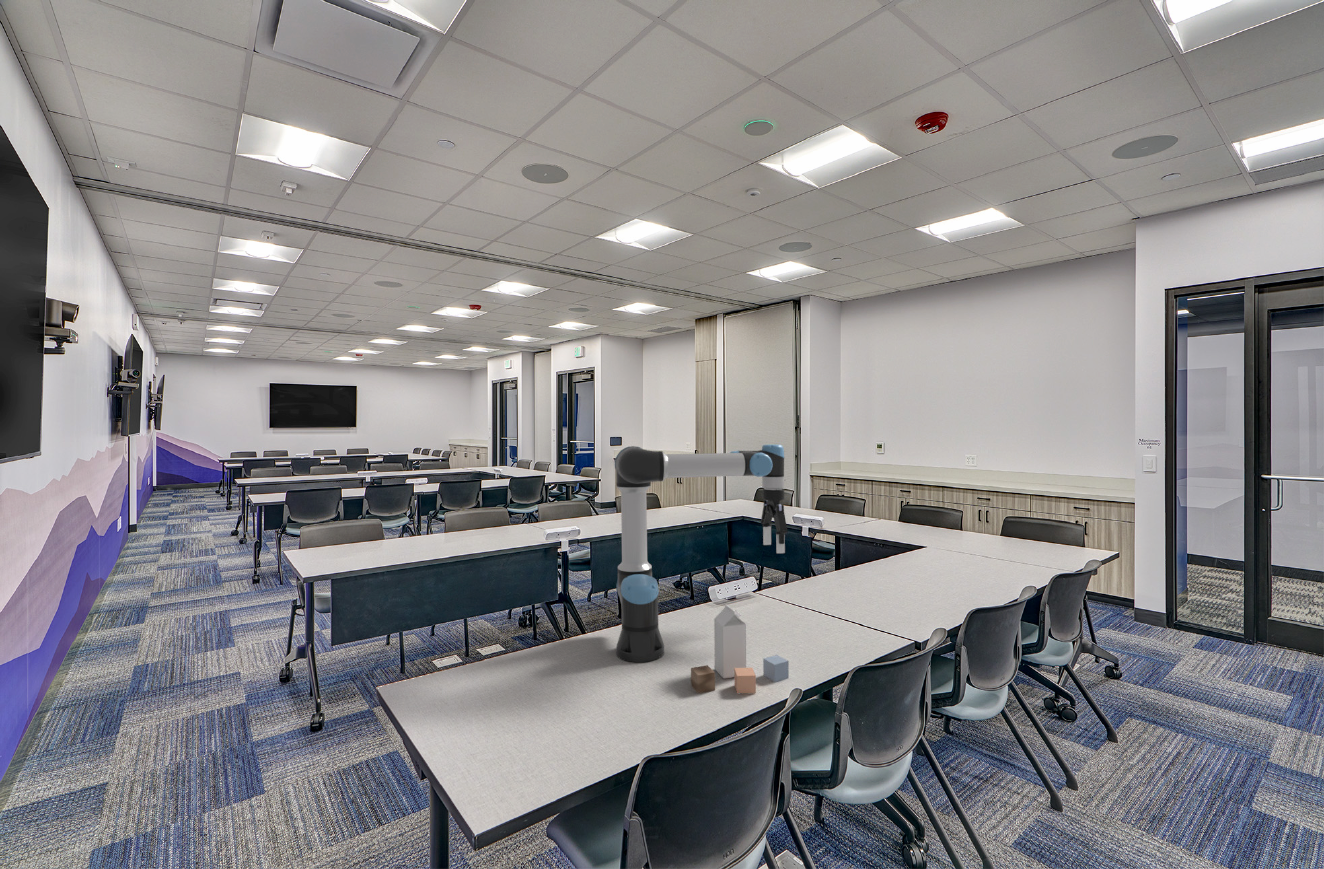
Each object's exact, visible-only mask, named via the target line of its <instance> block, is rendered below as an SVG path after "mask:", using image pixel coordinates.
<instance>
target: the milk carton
mask: <svg viewBox="0 0 1324 869" xmlns="http://www.w3.org/2000/svg"><path fill="white" fill-rule="evenodd" d="M741 616H742V614H741V613H740V612H739V611H737V610H734V609H733V608H732V607H730V606H729V605H728V604H726V603H725V604H724V608H723V609H722V610H721V611H720V612H719V613H718V614H717V615H716V616H715V617H714V618H713V620H714V622H713V623H714V628H713V630H714V637H713V638H714V670H715V671H716V672H717V673H718V674H719V676H720V677H721V678H722V679H730V678H734V668H747V624H746V623H745V622H744V621H743V620H742V619H741V618H740V617H741Z"/></svg>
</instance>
